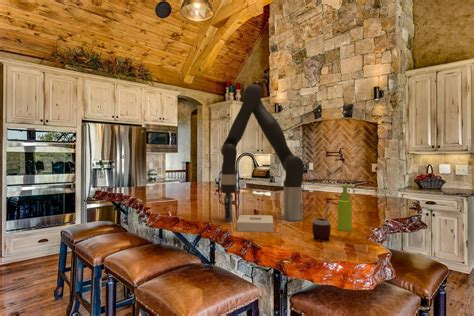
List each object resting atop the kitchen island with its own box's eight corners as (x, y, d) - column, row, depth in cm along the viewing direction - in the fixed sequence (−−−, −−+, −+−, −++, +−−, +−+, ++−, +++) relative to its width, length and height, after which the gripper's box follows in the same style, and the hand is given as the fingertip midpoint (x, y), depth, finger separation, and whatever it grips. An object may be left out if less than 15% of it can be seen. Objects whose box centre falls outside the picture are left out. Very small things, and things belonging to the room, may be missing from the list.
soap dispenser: (352, 232, 129) (352, 186, 129) (336, 229, 133) (336, 185, 133) (355, 229, 134) (355, 185, 134) (339, 227, 138) (339, 184, 138)
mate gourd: (311, 241, 115) (311, 202, 115) (313, 235, 123) (313, 200, 123) (331, 243, 113) (331, 204, 113) (332, 237, 120) (332, 201, 120)
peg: (232, 220, 151) (232, 204, 151) (231, 222, 147) (231, 205, 147) (225, 220, 151) (225, 203, 151) (224, 222, 147) (224, 205, 147)
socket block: (272, 223, 144) (272, 215, 144) (273, 232, 128) (273, 223, 128) (239, 222, 146) (239, 214, 146) (236, 231, 130) (236, 222, 130)
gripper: (234, 184, 141) (234, 219, 142) (237, 182, 156) (236, 213, 156) (219, 184, 142) (219, 219, 142) (223, 181, 156) (222, 213, 157)
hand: (228, 216), depth 149 cm, fingers open, 5 cm apart
